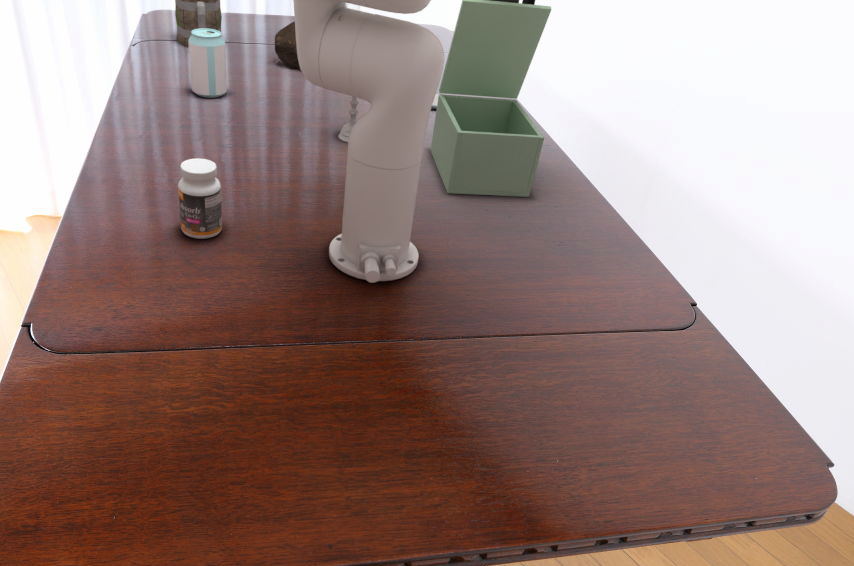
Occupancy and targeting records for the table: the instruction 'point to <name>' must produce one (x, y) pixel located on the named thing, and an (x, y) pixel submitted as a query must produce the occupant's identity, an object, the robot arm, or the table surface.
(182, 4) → the mug
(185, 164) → the pill bottle
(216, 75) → the can
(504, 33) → the lid
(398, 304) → the table surface
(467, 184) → the dish box
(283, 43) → the dark brown bone
